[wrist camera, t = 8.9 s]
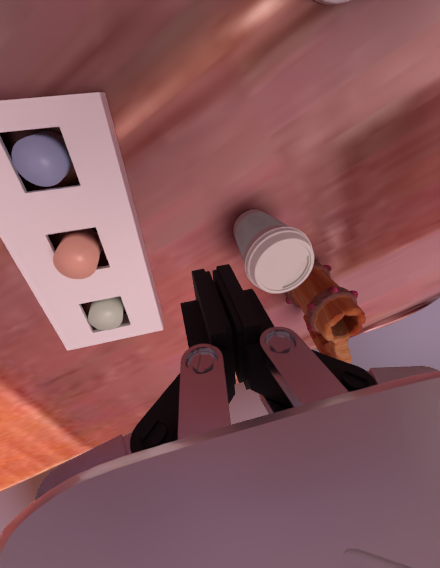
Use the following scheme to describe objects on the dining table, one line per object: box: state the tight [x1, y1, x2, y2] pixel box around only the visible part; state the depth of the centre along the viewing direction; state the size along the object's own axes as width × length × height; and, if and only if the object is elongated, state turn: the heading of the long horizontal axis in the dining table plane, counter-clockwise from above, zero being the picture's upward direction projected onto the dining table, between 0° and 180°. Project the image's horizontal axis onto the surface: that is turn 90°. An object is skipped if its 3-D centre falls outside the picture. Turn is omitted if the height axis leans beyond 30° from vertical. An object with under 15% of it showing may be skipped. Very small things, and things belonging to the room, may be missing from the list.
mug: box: [285, 262, 366, 363], centre depth 44 cm, size 15×8×15 cm, turn 10°
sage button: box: [88, 296, 124, 330], centre depth 40 cm, size 4×4×5 cm
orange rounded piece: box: [53, 228, 102, 279], centre depth 32 cm, size 4×4×5 cm
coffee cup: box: [233, 209, 314, 293], centre depth 37 cm, size 8×8×12 cm
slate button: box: [12, 131, 73, 187], centre depth 28 cm, size 4×4×5 cm
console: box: [0, 92, 163, 351], centre depth 34 cm, size 30×14×5 cm, turn 5°
